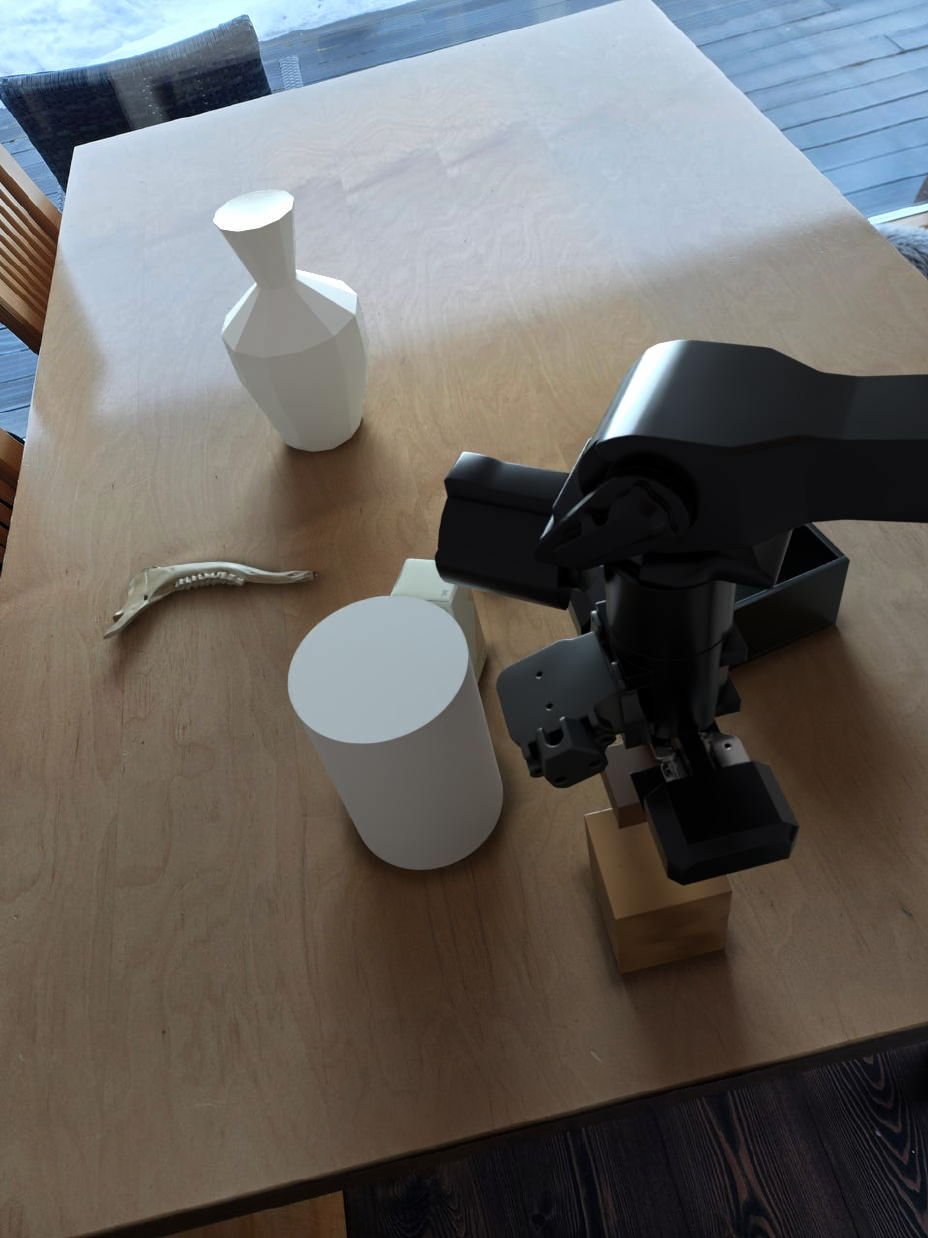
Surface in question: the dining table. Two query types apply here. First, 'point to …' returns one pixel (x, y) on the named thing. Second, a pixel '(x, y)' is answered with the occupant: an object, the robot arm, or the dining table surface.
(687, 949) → the stand
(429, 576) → the box
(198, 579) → the jawbone
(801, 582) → the trash bin
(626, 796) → the brown block
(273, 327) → the vase
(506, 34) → the dining table surface
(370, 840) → the white solid cylinder
